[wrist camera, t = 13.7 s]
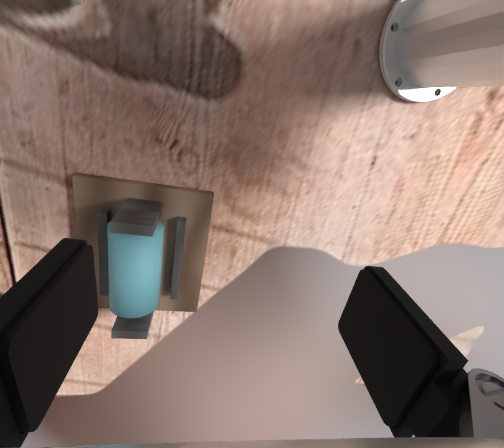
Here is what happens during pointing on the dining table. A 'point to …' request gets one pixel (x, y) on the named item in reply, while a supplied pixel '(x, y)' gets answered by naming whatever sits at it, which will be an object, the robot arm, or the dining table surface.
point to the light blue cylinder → (134, 272)
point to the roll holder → (144, 224)
